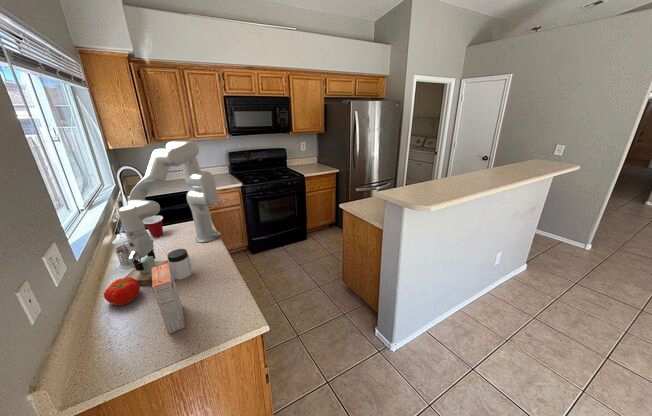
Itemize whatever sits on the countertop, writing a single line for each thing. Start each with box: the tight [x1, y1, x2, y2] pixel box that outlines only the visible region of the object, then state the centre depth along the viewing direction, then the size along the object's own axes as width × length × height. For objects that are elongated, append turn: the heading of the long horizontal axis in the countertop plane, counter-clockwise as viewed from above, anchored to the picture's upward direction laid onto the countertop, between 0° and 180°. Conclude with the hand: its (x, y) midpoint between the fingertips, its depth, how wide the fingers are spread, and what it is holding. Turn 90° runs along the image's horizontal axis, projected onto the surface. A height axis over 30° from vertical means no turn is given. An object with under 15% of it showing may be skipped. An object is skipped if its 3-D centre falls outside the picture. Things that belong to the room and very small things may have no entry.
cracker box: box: [151, 263, 186, 335], centre depth 95 cm, size 14×6×21 cm, turn 32°
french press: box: [111, 219, 138, 269], centre depth 132 cm, size 10×12×25 cm
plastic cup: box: [143, 215, 164, 239], centre depth 164 cm, size 11×11×12 cm
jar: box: [167, 248, 193, 280], centre depth 124 cm, size 9×8×12 cm
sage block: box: [139, 256, 156, 274], centre depth 124 cm, size 5×5×6 cm
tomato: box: [103, 276, 141, 306], centre depth 109 cm, size 13×12×8 cm
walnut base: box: [123, 259, 169, 287], centre depth 126 cm, size 16×16×3 cm
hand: (146, 264), depth 124 cm, fingers open, 9 cm apart
